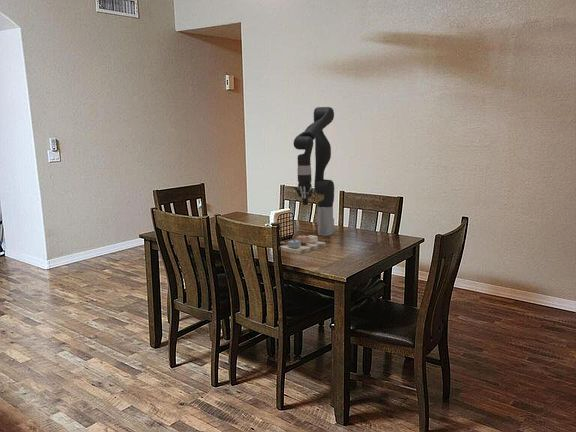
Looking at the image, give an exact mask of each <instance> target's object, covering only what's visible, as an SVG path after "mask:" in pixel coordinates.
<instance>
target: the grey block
mask: <svg viewBox="0 0 576 432" xmlns="http://www.w3.org/2000/svg"><path fill="white" fill-rule="evenodd" d="M287 245H288V247H292V248H297V247H300V246H301V241H298V240H296V239H292V240H288V241H287Z"/></svg>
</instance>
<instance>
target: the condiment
mask: <svg viewBox="0 0 576 432" xmlns="http://www.w3.org/2000/svg"><path fill="white" fill-rule="evenodd" d="M271 225H272V226H279V230H280V242H281V245H280V246H284V245H286V243H285V242H284V241H282V228H281V223H280V222H275V221H274V222H271V223H270V226H271Z"/></svg>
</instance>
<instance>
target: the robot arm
mask: <svg viewBox="0 0 576 432" xmlns="http://www.w3.org/2000/svg"><path fill="white" fill-rule="evenodd" d="M334 111H335V110H334V109H333V107H330V106H319V107H318V106H317V107H315V108H314V109H313V122H312V123H310V124H309V125H308V126H307V127H306V128H305V130H304V131H303V132H301V133H299V134H298V135H297V136H295V138H294V140H293V147H294V149H296V150H298V151H299V150H302V151H304V153H300V154H298V155H297V183H298V184H297V186H296V187H295V188H294V190H295V191H296V193H297V195H298V197H299V198H301V200H302V205H303V206H308V204H309V198H311V197H312V195H313V194H314V193H315V194H317V195H321V196H323V199H321V200H318V201H317V236H318V235H319V236H322V237H323V236H333V235H334V234H335V218H334V201H335V183H334V181H333V180H332V179H325V178H324V177H325V171H326V170H325V169H326V168H327V166H328V164H329V162H330V161H331V158H332V147H331V143H330V141H329V139H328V138H327V136H326V134H325V133H324V129H325V128H326V127H327V126H329V125H330V124H331V123H332V122H333V120H334V119H335V112H334ZM313 147H314V155H315V156H314V157H315V159H314V160H315V166H314V167H315V172H314V182H313V183H314V186H313V187H312V166H311V162H312V161H311V156H312V150H313Z"/></svg>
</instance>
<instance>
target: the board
mask: <svg viewBox="0 0 576 432" xmlns="http://www.w3.org/2000/svg"><path fill="white" fill-rule="evenodd" d="M326 244H327V243H326V242H324V241H320V240H318V241H317V242H313V243H309V242H306V243H301V246H300V247H297V248H292V247H288V244H284V245H280V247H281V251H280V252H285V253H291V254H295V255H299V254H300V255H303V254H305V253H309V252H311V251H316V250H318V249H321V248H324V247H327V245H326Z"/></svg>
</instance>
